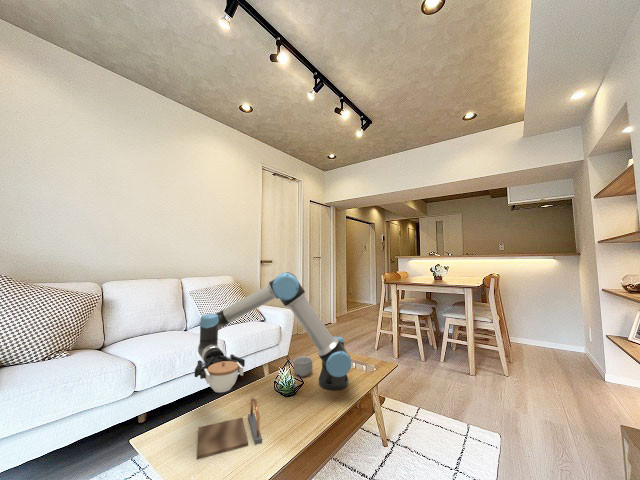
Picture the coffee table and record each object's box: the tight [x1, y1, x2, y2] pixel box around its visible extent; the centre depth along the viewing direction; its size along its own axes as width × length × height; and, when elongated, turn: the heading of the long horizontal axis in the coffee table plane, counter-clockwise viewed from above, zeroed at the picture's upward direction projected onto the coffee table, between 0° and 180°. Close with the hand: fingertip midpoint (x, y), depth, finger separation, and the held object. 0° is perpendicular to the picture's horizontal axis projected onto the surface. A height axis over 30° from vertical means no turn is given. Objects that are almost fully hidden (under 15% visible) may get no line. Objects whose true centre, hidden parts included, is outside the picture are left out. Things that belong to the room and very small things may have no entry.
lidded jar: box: [207, 361, 239, 393], centre depth 97 cm, size 11×11×9 cm
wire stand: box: [247, 412, 263, 446], centre depth 100 cm, size 2×17×1 cm, turn 23°
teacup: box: [292, 355, 313, 377], centre depth 150 cm, size 14×11×8 cm
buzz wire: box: [249, 396, 260, 437], centre depth 100 cm, size 1×15×10 cm, turn 23°
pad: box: [196, 416, 249, 460], centre depth 95 cm, size 16×16×1 cm
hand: (226, 375), depth 93 cm, fingers closed on lidded jar, 11 cm apart
